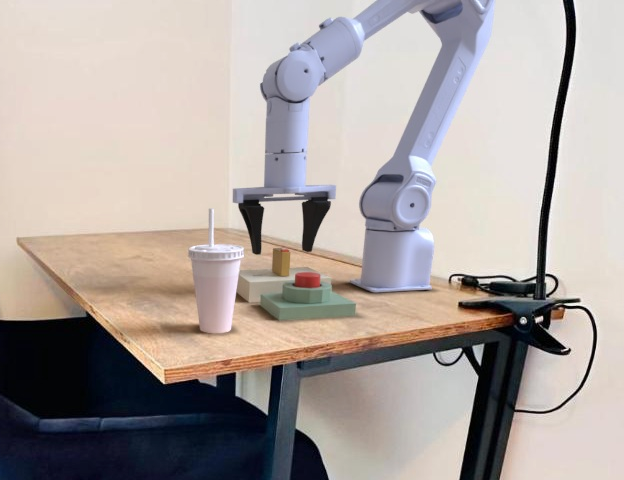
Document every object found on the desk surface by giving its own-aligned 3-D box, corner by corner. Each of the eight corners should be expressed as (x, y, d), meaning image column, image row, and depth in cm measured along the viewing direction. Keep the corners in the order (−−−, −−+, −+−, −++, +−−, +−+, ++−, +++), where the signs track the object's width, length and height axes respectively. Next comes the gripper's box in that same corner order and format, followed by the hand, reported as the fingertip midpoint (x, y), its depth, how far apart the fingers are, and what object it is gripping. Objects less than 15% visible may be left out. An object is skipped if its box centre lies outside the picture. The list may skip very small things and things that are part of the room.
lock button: (313, 284, 74) (314, 271, 73) (323, 289, 71) (324, 276, 70) (290, 285, 73) (291, 272, 73) (299, 290, 70) (300, 277, 70)
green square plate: (329, 301, 77) (331, 277, 76) (355, 316, 70) (357, 289, 69) (260, 305, 76) (260, 280, 75) (279, 321, 69) (280, 293, 68)
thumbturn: (271, 271, 84) (272, 246, 82) (280, 271, 84) (281, 246, 83) (280, 276, 80) (282, 250, 79) (289, 276, 80) (290, 250, 79)
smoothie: (190, 321, 69) (189, 207, 65) (241, 322, 69) (244, 205, 64) (187, 336, 63) (185, 211, 59) (243, 337, 63) (246, 210, 58)
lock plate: (306, 285, 88) (307, 265, 87) (330, 298, 79) (331, 276, 78) (233, 289, 86) (233, 269, 85) (249, 303, 78) (249, 280, 77)
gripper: (242, 154, 72) (240, 259, 76) (348, 151, 73) (340, 253, 78) (229, 155, 78) (228, 251, 83) (326, 152, 80) (320, 247, 84)
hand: (281, 252), depth 81 cm, fingers open, 7 cm apart
